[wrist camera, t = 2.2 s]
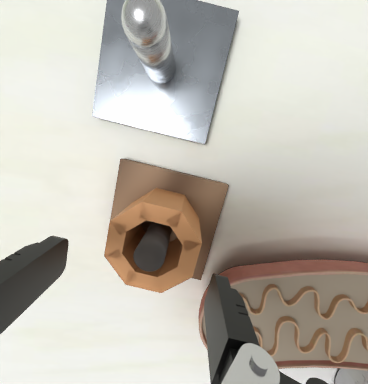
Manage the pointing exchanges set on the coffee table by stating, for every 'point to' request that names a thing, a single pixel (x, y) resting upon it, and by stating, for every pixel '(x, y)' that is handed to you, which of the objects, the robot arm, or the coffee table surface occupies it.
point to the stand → (162, 234)
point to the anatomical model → (305, 311)
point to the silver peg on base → (163, 65)
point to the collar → (133, 233)
